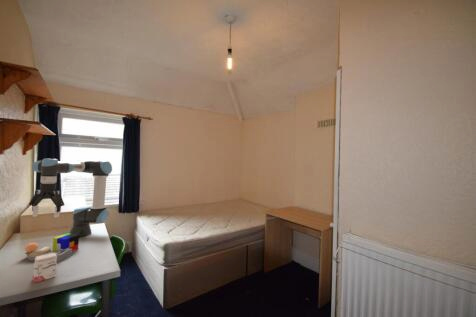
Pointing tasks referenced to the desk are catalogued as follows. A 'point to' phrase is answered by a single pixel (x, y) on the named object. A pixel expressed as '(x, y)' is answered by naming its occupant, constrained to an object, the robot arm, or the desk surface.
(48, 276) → the ink box
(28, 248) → the ball
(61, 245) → the puzzle toy
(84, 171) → the robot arm
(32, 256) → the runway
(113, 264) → the desk surface
